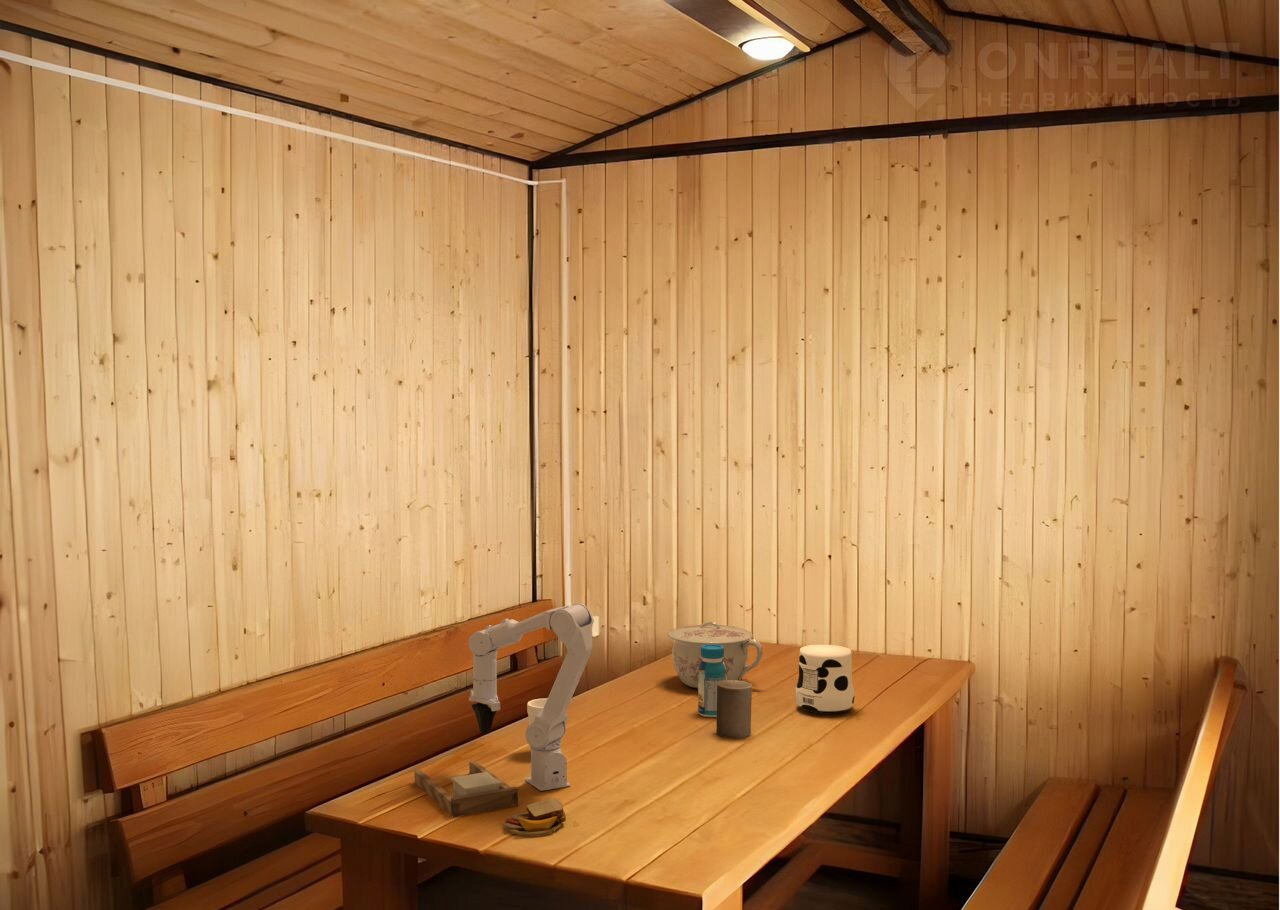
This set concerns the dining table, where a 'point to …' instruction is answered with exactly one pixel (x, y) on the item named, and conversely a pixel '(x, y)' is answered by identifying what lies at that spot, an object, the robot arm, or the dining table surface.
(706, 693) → the beverage bottle
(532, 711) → the foam cup
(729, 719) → the pillar candle
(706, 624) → the chamber pot
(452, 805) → the bay
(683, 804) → the dining table surface
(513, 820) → the toy sandwich meal
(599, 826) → the dining table surface
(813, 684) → the milk container
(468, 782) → the beige square block
